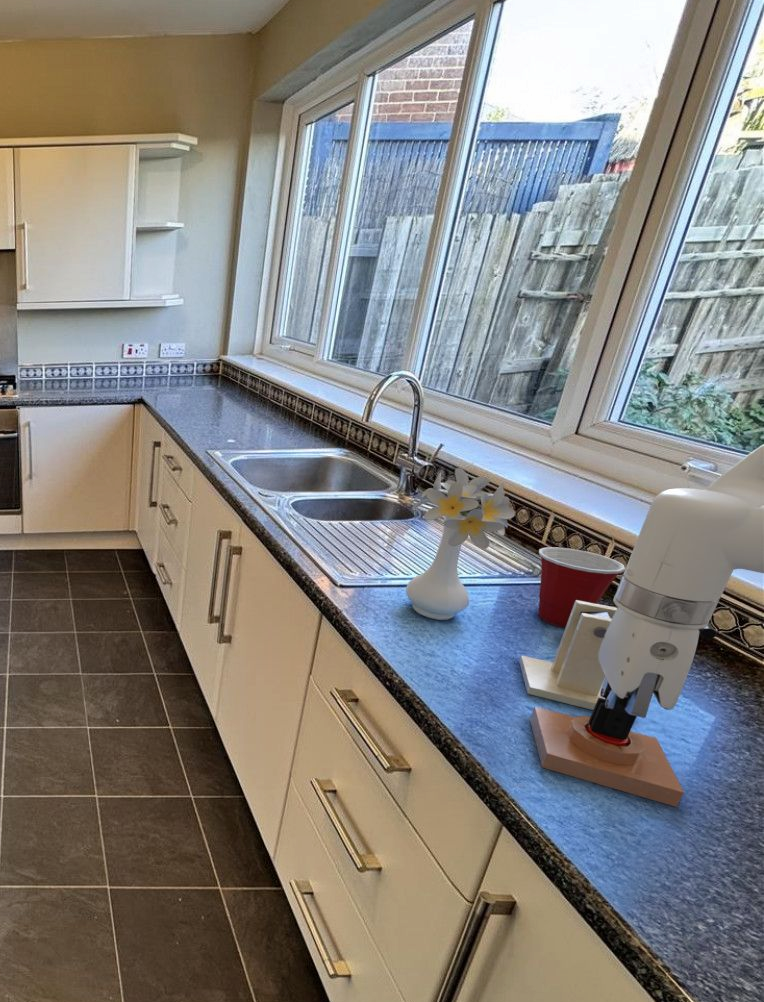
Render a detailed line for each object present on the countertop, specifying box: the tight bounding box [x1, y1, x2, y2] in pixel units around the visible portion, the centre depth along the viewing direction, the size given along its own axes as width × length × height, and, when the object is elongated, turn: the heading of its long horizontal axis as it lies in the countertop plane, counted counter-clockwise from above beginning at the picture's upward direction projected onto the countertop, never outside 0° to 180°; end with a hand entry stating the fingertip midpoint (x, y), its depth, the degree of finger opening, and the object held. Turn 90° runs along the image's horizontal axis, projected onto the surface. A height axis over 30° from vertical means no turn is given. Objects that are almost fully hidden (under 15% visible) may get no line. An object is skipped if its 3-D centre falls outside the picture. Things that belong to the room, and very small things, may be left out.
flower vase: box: [405, 467, 516, 621], centre depth 104 cm, size 13×18×25 cm
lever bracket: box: [518, 600, 618, 711], centre depth 86 cm, size 11×9×13 cm
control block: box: [529, 706, 685, 808], centre depth 75 cm, size 12×10×4 cm
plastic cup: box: [538, 546, 626, 629], centre depth 104 cm, size 11×11×12 cm
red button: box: [586, 725, 628, 746], centre depth 75 cm, size 4×4×2 cm
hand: (606, 731), depth 75 cm, fingers closed
